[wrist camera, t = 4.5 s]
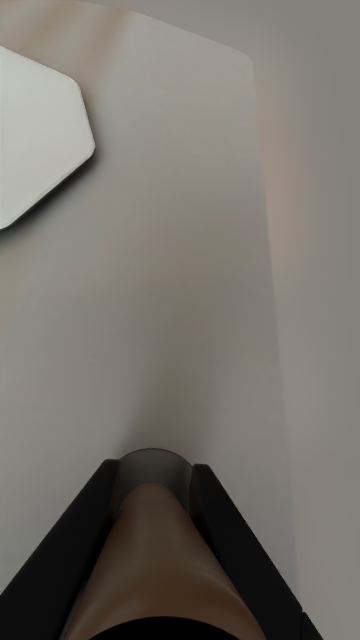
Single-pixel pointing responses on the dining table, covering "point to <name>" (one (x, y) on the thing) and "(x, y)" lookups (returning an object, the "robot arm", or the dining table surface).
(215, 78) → the dining table surface
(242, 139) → the dining table surface
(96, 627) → the coffee tamper
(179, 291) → the dining table surface
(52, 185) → the plate
